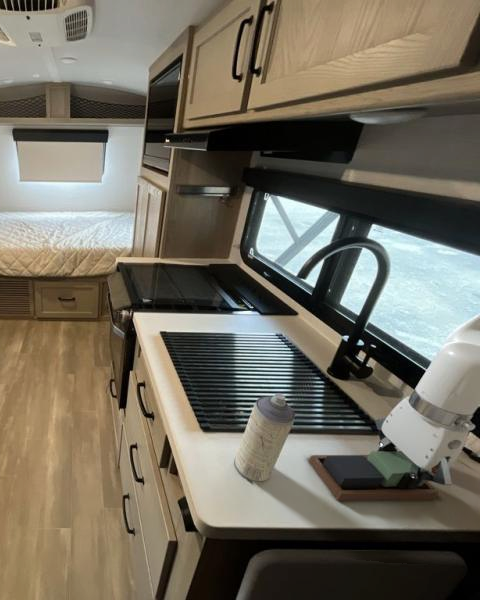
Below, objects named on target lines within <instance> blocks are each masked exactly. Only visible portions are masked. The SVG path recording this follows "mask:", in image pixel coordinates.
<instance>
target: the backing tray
mask: <svg viewBox="0 0 480 600" xmlns="http://www.w3.org/2000/svg"><path fill="white" fill-rule="evenodd" d="M369 455H370V454H313V455H311V456H310V458H309V460H308V464H309V465H310V466H311V467H312V469H313V470H314V472H315V473H316V474H317V475H318V477H319V478H320V479H321V481H322V482H323V483H324V485H325V486H326V488H327V489H328V490H329V492H330V493H331V494H332V496H333V497H334V498H335V500H336V501H337V502H352V501H353V502H355V501H361V502H362V501H413V500H414V501H417V500H418V501H421V500H424V501H425V500H434V499H435V498H436V497H437V496H438V494H439V491H437V489H436V488H435V487H434V486H433V485H432V484H430V482H429V481H427V480H426V481H425V483H424V484H423V485H422V486H418V487H417V488H416V489H411V490H410V489H399V488H398V487H383V486H382V484H380V485H379V487H378V488H377V490H342V489H341V488H340V486H339V485H338V484H337V483H336V481H335V480H334V479H333V477H332V476H331V475H330V474H329V472H328V471H327V470H326V468H325V467H324V466H323V465H322V464H323V462H324V460H325V459H326V457H327V456H364V457H365V458H366V459H367V458H368V456H369Z"/></svg>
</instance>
